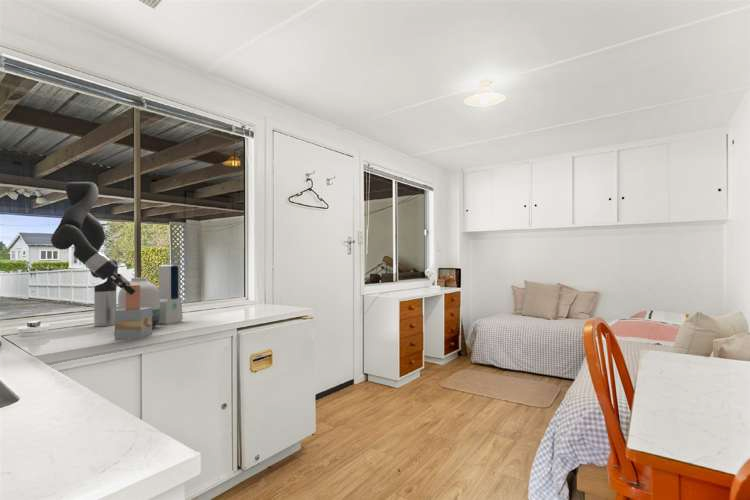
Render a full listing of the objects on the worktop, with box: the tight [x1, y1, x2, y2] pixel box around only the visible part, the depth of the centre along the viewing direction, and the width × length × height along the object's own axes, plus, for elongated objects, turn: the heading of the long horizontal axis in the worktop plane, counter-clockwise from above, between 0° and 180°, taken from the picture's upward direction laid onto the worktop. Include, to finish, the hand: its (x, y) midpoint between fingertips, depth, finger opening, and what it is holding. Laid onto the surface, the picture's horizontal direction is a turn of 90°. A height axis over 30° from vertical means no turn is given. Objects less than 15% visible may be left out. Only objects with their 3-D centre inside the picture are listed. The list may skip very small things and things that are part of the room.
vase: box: [117, 277, 160, 328], centre depth 183 cm, size 17×17×24 cm
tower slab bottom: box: [114, 326, 153, 340], centre depth 162 cm, size 10×10×4 cm
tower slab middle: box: [114, 317, 152, 332], centre depth 163 cm, size 10×10×4 cm
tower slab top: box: [115, 307, 153, 321], centre depth 163 cm, size 10×10×4 cm
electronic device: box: [157, 264, 184, 325], centre depth 200 cm, size 12×8×30 cm, turn 168°
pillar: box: [125, 285, 140, 310], centre depth 163 cm, size 5×5×10 cm
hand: (134, 292), depth 163 cm, fingers open, 8 cm apart
